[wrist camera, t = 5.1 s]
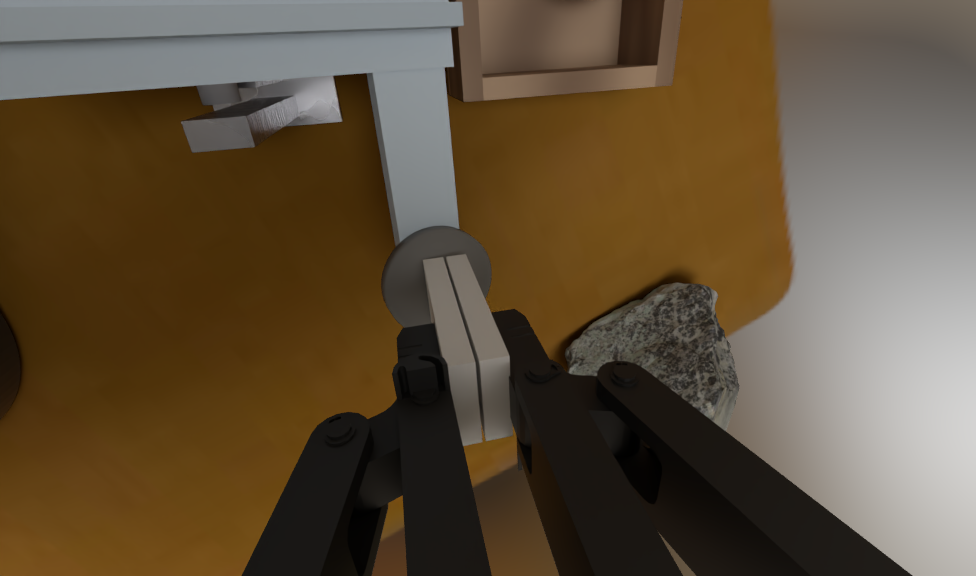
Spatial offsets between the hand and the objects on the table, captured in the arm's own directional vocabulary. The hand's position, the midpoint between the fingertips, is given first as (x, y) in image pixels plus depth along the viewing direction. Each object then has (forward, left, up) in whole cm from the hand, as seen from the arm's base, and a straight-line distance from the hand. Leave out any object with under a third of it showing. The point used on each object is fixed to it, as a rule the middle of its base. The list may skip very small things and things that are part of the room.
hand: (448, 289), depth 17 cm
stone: (+12, -10, -8) cm, 18 cm away
